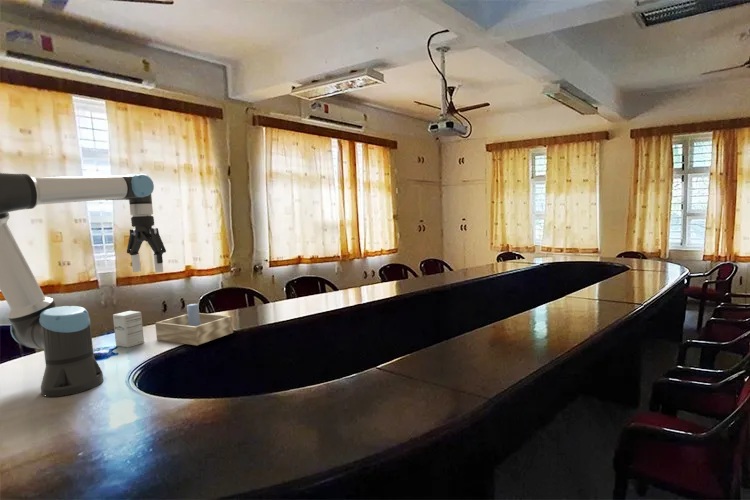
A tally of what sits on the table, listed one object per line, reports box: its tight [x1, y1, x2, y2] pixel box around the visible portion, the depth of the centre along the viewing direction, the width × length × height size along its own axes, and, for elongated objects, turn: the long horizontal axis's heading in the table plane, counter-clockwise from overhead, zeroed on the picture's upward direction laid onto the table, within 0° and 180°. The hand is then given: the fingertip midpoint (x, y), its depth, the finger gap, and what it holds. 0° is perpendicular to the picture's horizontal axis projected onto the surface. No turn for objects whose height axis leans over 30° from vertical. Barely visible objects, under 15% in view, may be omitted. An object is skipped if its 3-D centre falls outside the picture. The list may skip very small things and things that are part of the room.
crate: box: [154, 312, 234, 346], centre depth 177 cm, size 18×24×7 cm
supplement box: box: [112, 310, 145, 348], centre depth 171 cm, size 7×7×13 cm
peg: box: [186, 303, 200, 326], centre depth 177 cm, size 4×4×13 cm
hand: (148, 272), depth 164 cm, fingers open, 13 cm apart
